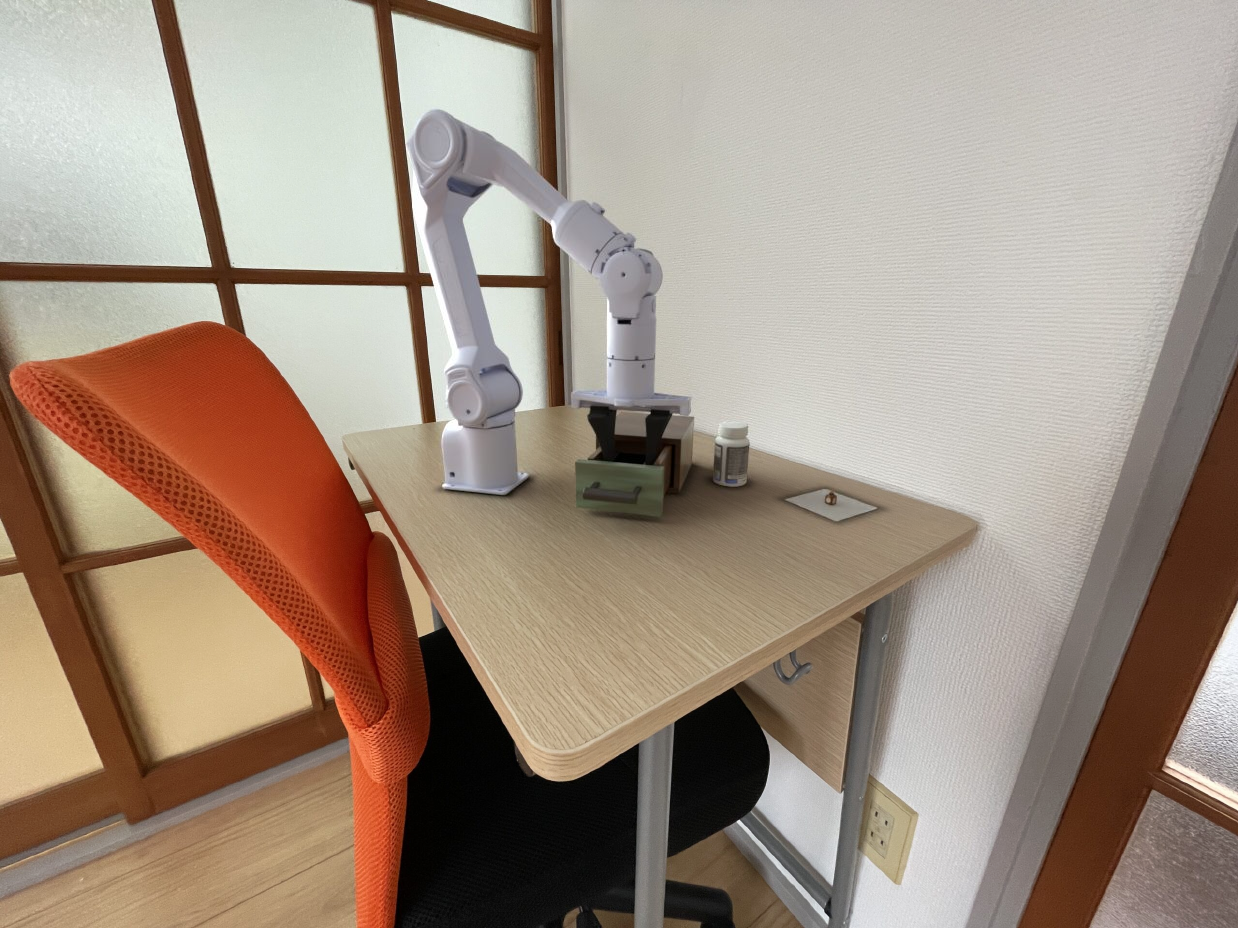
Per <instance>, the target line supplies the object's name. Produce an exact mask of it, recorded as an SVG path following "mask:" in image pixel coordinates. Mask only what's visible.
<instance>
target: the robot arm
mask: <svg viewBox="0 0 1238 928" xmlns="http://www.w3.org/2000/svg"><path fill="white" fill-rule="evenodd" d="M405 145H406V149H407V152H408V156H409V159H410V163H411V166H412V173H413V174H412V177H413V178H412V198H411V199H412V200H411V201H412V202H411V205H412V212H413V215H414V219H415V223H416V226H417V229H418V233H419V237H420V241H421V245H422V247H423V248H422V249H423V251H424V255H425V259H426V262H427V266H428V269H429V273H430V276H431V280H432V283H433V287H434V290H435V295H436V297H437V300H438V304H439V308H440V312H441V315H442V318H443V322H444V326H445V328H446V333H447V336H448V337H447V338H448V339H449V344H450V347H451V351H452V355H451V357H450V358H449V361H448V362H447V364H446V366H445V368H444V370H443V374H444V377H445V382H446V390H445V403H446V407H447V409H448V412H449V413H450V416H452V417H453V418H454V419H452V420H450V421H449V422H448V423H447V424H446V425H445V427H444V428H443V430H442V434H441V451H442V452H441V453H442V464H443V470H444V471H443V472H444V473H443V474H444V482H445V483H443V484H442V489H444V490H452V491H453V490H454V491H461V492H463V491H464V492H472V493H480V494H489V495H490V494H491V495H498V496H499V495H500V496H507V495H508V494H509V493H510V492H511V491H513V490H514V489H515V488H516V487H518V486H519V485H520V484H522V483H523V482H524V481H526V480H527V479H528V478H529V477H530V473H528V472H519V471H518V470H519V468H518V453H517V432H516V431H517V430H516V409H517V408H518V407H519V406H520V405H521V403H522V400H523V395H524V391H523V385H522V382H521V380H520V378H519V377H518V376H517V374H516V373H515V372H514V370H513V369H512V366H511V362H510V359H509V356H507V355H506V353H504V351H502V350H501V349H500V348H499V347H498V346H497V345H496V342H495V338H494V334H493V332H492V327H491V322H490V320H489V316H488V315H489V314H488V311H487V308H486V303H485V301H484V297H483V291H482V289H481V285H480V281H479V277H478V274H477V270H476V266H475V262H474V258H473V254H472V249H471V247H470V242H469V240H468V235H467V231H466V227H465V224H464V217H465V215H466V214H467V212H468V210H469V209H470V208H471V207H472V206H473V205H474V204H475V203H476V202H477V201H478V200H479V199H480V198H482V196H483V195H484V194H486V192H488V191H489V189H491V188H492V187H493V186H497V187H500V188H504V189H506V190H507V191H508V192H509V193H511V194H512V195H513V196H514V197H516V198H517V199H518V200H519V201H521V202H522V203H523V204H524V205H526V206H527V207H528V208H529V209H530V210H532V212H534V213H536V214H537V215H538V216H539V217H540V218H542V219H543V220H544V221H546V222H547V223H548V224H549V225H550V226H551V230H552V238H553V242H554V243H555V245H556V246H557V247H559V248H560V250H562V251H563V252H565V253H566V254H567V255H568V256H569V257H570V258H571V259H573V260H574V261H575V262H576V263H577V264H578V265H580V266H581V267H582V269H584V270H585V271H586V272H587V273H588V274H589V275H591V276H592V277H593V278H594V279H596V280H598V283H599V286H600V289H601V291H602V292H603V294H604V295H605V297H606V298H607V299H606V300H607V301H606V302H607V303H606V305H607V306H606V307H607V308H606V309H607V312H606V314H607V315H606V390H579V389H577V390H574V391H572V392H570V402H571V403H570V405H571V407H570V408H571V409H577V410H578V409H581V408H583V409H589V413H588V414H587V415H586V417H587V422H588V423H589V425H590V426H591V428H592V430H593V432H594V434H595V438H596V437H597V439H598V441H599V444H600V447H601V450H602V454H603V458H604V461H605V462H609V461H611V459H612V458H613V457H614V456H615V423H616V416H617V412H618V411H626V412H641V413H649V414H650V415H648V416H647V417H646V418H645V424H646V441H647V448H646V460H645V464H646V465H651V466H654V463H655V457H656V453H657V450H658V447H659V444H660V441H661V438H662V436H663V433H664V431H665V429H666V427H667V425H668V423H669V421H670V419H671V417H672V415H674V414H676V415H679V416H690V414H691V412H692V396H687V395H676V394H668V393H662V392H661V393H660V392H655V380H656V379H655V378H656V377H655V375H656V374H655V373H656V348H657V347H656V343H657V316H656V315H657V314H656V313H657V312H656V311H657V296H656V294H657V293H658V292H659V290H660V289H661V286H662V284H663V278H664V277H663V275H664V274H663V268H662V266H661V263H660V262H659V260H658V259H657V257H655V255H654V253H653V252H652V251H651V250H649V249H646V248H640V247H638V248H635V243H636V241H637V238H636V236H634V234H632V233H630V232H627V233H624V232H623V231H622V230H620V229H619V228H618V227H617V226H616V225H615V224H613V222H611V220H609V219H608V218H607V217H606V216H604V214H605V213H606V209H605V208H604V207H602V205H601V204H599V203H598V202H595V201H592V202H591V203H590V202H589V201H587V200H585V199H579V200H574V201H569V200H568V199H567V198H566V197H565V196H564V195H562V194H561V193H560V192H559V191H558V190H557V189H556V188H555V187H554V186H553V185H552V184H551V183H550V182H549V181H548V180H546V179H545V178H544V177H543V176H542V175H541V174H540V173H539V172H538V171H537V170H536V169H535V168H533V167H532V165H530V164H529V162H528V161H526V160H525V159H524V158H523V157H522V156H521V155H520V154H519V153H518V152H517V151H515V150H514V149H512V148H511V147H509V146H508V145H506V144H504V142H501V141H499V140H497V139H496V138H495V137H494V136H493V135H491V134H490V133H488V132H486V131H484V130H479V129H477V128H476V127H474V126H471V125H469V124H468V123H465V122H463V121H462V120H460V119H457V118H456V117H454V115H452V114H451V113H450V112H448V111H445V110H443V109H439V108H434V109H429V110H427V111H425V112H424V113H422V115H420V117H419V118H418V120H417V121H416V123H415V125H414V127H413V130H412V131H411V133H410V135H409V138H408V139H407V141H406V144H405Z"/></svg>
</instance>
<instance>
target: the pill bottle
mask: <svg viewBox="0 0 1238 928" xmlns="http://www.w3.org/2000/svg"><path fill="white" fill-rule="evenodd" d="M717 432H718V433H717V434H718V435H717V436H716V438H715V439H714V440H715V441H714V452H713V453H714V454H713V455H714V456H713V471H712V472H713V473H712V481H713V482H714V483H715V484H717V485H719V486H722V487H723V486H724V487H729V488H736V487H741V486H744V485H745V484H747V480H748V468H749V455H750V445H751V443H750V439H749V438H748V437H747V436H748V435H749V425H748V423H745V422H742V421H735V420H734V421H731V420H730V421H721V422H720V423H718V429H717Z"/></svg>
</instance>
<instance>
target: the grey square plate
mask: <svg viewBox="0 0 1238 928" xmlns="http://www.w3.org/2000/svg"><path fill="white" fill-rule="evenodd" d="M784 501H786V502H788V503H791V504H793V505H796V506H798V507H800V508H802V509H806V510H808V511H810V512H812V513H815V514H817V515H820V516H821V517H825V518H827V519H829V520H832V521H833V522H840V521H843V520H846V519H850V518H853V517H855V516H858V515H861V514H864V513H869V512H871V511H874V510H878V507H876V506H873V505H870V504H868V503H865V502H862V501H859V500H857V499H854V498H852V497H848V496H846V495H843V494H840V493H837V492H836V491H834V490H833V489H831V490H830V489H827V488H823V489H819V490H815V491H812V492H807V493H803V494H800V495H797V496H796V495H795V496H792V497H789V498H785V499H784Z"/></svg>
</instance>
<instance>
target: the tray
mask: <svg viewBox="0 0 1238 928" xmlns="http://www.w3.org/2000/svg"><path fill="white" fill-rule="evenodd" d="M645 460H646V454H644V453H632V452H620V451H619V452H618V453H617V454H616V455H615V456H614V457H613V458H612V459H611V461H609V462H617V463H628V464H640V465H646V464H645Z"/></svg>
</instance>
